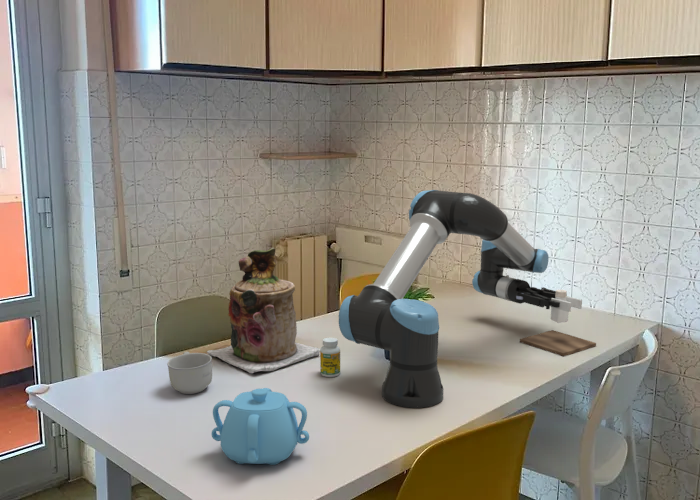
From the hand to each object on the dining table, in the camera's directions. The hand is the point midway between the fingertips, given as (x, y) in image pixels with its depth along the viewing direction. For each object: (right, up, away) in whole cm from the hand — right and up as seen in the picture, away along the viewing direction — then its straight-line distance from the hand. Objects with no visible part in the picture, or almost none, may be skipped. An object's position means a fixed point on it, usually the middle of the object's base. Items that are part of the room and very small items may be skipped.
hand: (575, 305), depth 202 cm
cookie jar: (-92, -14, -6) cm, 93 cm away
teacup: (-107, -18, -29) cm, 113 cm away
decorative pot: (-85, -25, -63) cm, 109 cm away
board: (-3, -12, +7) cm, 14 cm away
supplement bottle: (-72, -17, -19) cm, 77 cm away
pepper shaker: (-3, -5, +5) cm, 8 cm away
